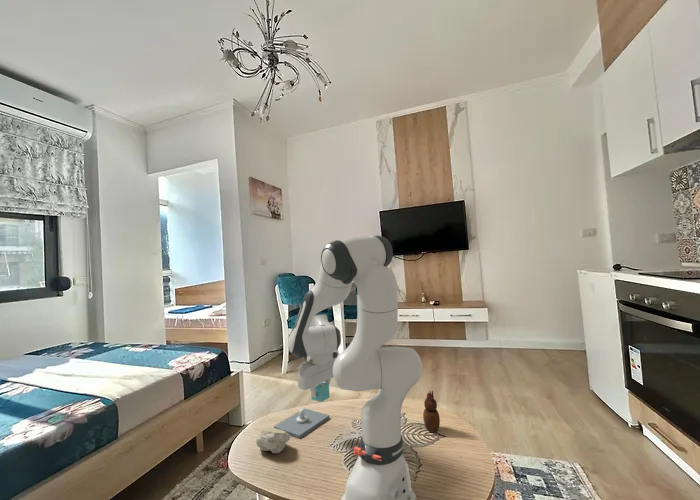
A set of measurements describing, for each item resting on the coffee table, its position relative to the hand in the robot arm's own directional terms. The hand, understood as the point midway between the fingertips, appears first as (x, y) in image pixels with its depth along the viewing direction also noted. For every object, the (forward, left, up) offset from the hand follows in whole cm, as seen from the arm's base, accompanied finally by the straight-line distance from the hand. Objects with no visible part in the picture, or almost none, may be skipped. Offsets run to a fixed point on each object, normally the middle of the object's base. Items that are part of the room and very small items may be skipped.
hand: (320, 394), depth 121 cm
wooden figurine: (+24, -34, -16) cm, 44 cm away
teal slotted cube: (0, 0, -2) cm, 2 cm away
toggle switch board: (+3, +13, -16) cm, 21 cm away
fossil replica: (-16, +9, -16) cm, 24 cm away
